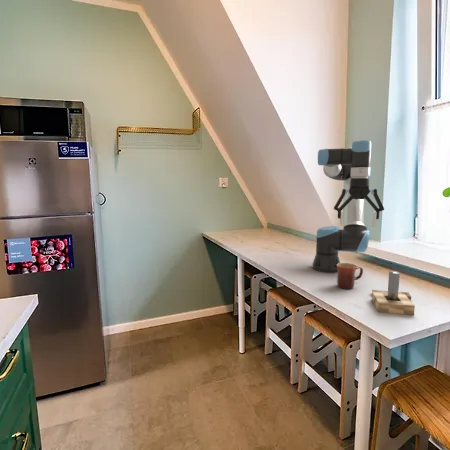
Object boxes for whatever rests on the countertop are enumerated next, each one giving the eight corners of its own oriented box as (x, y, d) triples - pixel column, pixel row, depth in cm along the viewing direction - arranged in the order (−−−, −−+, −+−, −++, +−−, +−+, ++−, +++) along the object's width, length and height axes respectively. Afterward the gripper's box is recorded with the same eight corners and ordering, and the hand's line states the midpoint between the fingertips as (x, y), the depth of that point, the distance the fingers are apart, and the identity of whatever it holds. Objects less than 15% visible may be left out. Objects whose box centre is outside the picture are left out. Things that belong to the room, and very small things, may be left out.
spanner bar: (373, 297, 130) (373, 293, 130) (371, 293, 135) (372, 288, 135) (410, 301, 126) (411, 296, 126) (408, 296, 131) (408, 292, 130)
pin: (385, 304, 122) (388, 270, 120) (395, 305, 121) (398, 271, 119) (387, 308, 119) (390, 273, 117) (398, 309, 118) (400, 274, 116)
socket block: (371, 299, 128) (372, 291, 127) (403, 302, 125) (404, 293, 124) (378, 311, 116) (379, 303, 116) (414, 314, 113) (414, 305, 113)
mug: (339, 290, 138) (340, 268, 137) (332, 283, 147) (333, 263, 145) (366, 289, 139) (367, 267, 137) (357, 283, 147) (358, 262, 146)
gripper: (330, 178, 132) (328, 226, 135) (394, 177, 126) (390, 228, 129) (328, 178, 139) (327, 224, 143) (389, 177, 133) (386, 225, 137)
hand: (357, 226), depth 136 cm, fingers open, 13 cm apart
